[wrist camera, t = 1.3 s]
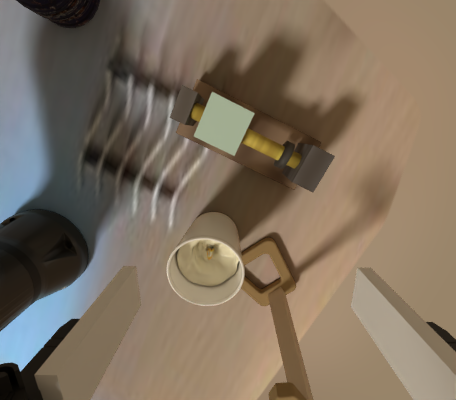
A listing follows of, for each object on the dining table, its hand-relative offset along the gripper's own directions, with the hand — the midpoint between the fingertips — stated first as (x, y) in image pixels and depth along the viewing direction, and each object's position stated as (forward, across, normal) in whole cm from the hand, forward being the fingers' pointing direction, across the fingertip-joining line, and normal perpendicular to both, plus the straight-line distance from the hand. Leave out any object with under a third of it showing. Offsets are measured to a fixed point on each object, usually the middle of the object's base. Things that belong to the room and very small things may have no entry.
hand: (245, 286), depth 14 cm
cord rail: (+26, +2, +8) cm, 27 cm away
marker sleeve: (+22, -2, +10) cm, 24 cm away
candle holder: (+26, -4, -8) cm, 27 cm away
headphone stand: (+26, +4, -16) cm, 30 cm away
